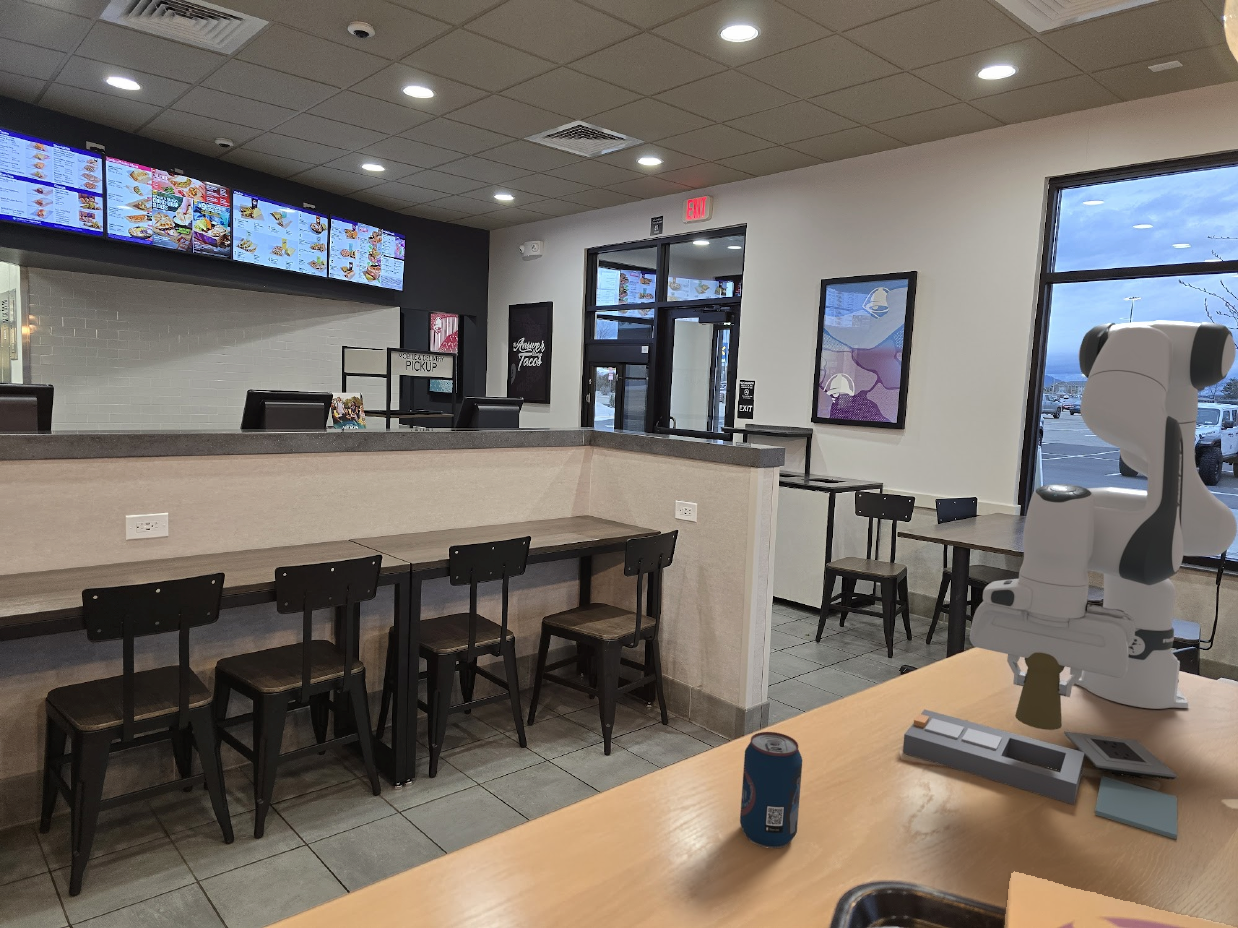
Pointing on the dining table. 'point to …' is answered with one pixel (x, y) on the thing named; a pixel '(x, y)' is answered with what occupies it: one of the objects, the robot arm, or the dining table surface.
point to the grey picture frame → (1120, 756)
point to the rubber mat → (1137, 807)
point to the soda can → (771, 789)
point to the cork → (1041, 693)
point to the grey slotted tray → (996, 755)
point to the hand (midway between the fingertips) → (1041, 689)
